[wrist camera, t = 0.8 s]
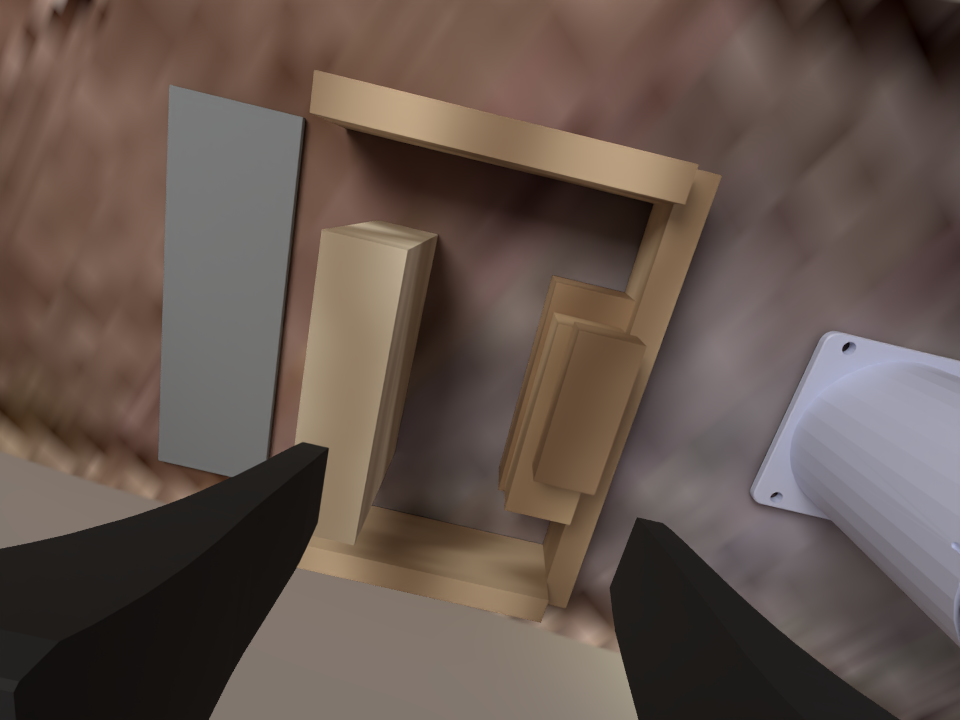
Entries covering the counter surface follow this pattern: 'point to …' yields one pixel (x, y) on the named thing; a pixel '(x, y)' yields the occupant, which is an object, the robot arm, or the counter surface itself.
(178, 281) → the mat
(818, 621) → the counter surface
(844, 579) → the counter surface
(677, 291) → the rack
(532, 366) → the offcuts
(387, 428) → the wooden block
